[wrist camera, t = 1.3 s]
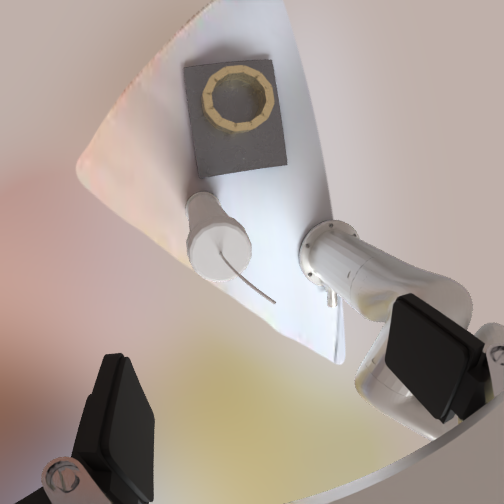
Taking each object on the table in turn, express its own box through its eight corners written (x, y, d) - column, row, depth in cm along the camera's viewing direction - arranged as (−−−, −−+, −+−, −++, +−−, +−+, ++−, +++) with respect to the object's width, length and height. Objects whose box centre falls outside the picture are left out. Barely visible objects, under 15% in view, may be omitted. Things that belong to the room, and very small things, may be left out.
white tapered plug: (196, 183, 45) (217, 221, 17) (230, 204, 47) (299, 270, 19) (178, 213, 46) (172, 297, 18) (211, 233, 48) (253, 335, 20)
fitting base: (284, 164, 47) (296, 165, 42) (199, 178, 45) (201, 180, 40) (269, 62, 41) (279, 51, 36) (183, 70, 39) (183, 59, 34)
